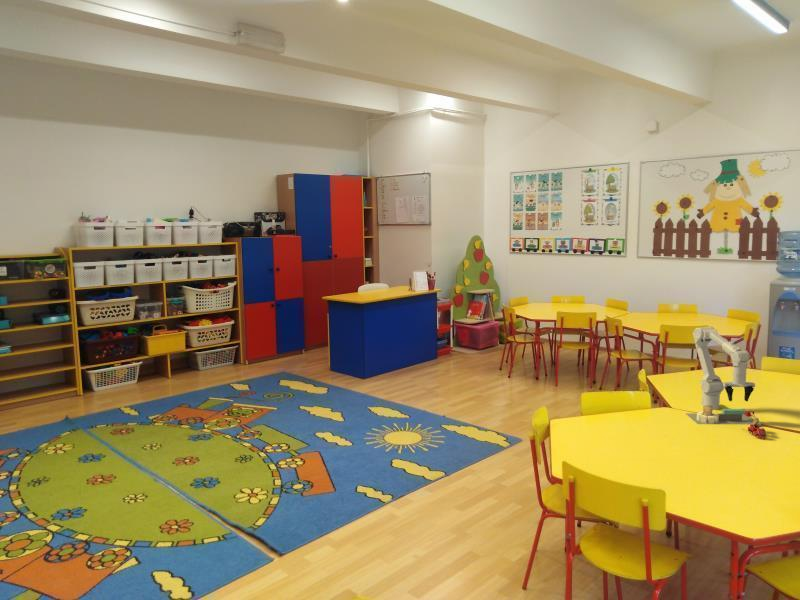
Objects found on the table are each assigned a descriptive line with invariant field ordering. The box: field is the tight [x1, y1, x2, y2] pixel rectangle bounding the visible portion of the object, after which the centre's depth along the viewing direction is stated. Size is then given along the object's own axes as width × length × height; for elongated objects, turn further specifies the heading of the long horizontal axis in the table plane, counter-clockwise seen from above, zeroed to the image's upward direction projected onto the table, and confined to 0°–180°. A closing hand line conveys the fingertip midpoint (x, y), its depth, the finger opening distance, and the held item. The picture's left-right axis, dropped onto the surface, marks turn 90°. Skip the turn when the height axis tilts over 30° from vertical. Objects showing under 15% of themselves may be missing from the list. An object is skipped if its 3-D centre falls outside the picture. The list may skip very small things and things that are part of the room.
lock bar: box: [721, 408, 751, 414], centre depth 299 cm, size 3×12×2 cm, turn 85°
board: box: [685, 410, 763, 428], centre depth 302 cm, size 16×30×4 cm, turn 85°
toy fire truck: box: [744, 410, 767, 440], centre depth 283 cm, size 3×14×10 cm, turn 179°
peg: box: [702, 405, 713, 416], centre depth 300 cm, size 4×4×7 cm
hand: (738, 400), depth 302 cm, fingers open, 7 cm apart
